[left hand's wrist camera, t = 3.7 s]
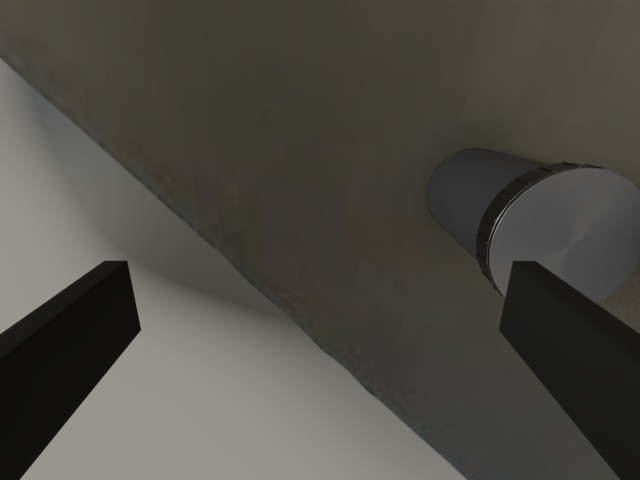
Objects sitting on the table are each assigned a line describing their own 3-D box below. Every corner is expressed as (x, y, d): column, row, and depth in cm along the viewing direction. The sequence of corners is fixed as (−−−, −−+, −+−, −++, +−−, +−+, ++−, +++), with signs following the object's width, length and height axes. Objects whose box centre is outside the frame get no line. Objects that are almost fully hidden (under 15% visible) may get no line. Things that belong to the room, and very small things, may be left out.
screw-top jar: (501, 133, 37) (626, 149, 22) (522, 212, 40) (646, 276, 25) (415, 170, 39) (477, 210, 23) (441, 245, 42) (512, 324, 26)
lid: (611, 135, 24) (641, 137, 21) (633, 268, 27) (661, 282, 25) (457, 199, 25) (470, 207, 23) (496, 318, 28) (510, 335, 26)
